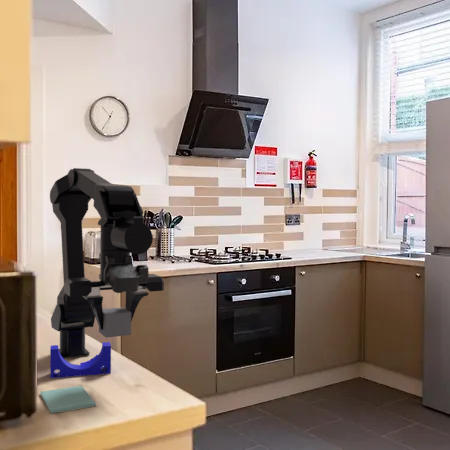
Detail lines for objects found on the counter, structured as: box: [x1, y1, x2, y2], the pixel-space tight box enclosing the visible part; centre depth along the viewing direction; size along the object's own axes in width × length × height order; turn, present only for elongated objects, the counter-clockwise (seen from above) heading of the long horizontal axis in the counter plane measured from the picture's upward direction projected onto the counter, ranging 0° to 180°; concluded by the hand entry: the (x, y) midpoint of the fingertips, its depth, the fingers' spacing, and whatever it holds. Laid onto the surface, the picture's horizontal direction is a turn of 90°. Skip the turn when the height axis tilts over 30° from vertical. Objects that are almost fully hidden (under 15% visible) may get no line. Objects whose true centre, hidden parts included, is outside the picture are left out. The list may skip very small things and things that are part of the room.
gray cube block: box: [98, 307, 132, 338], centre depth 109 cm, size 5×5×4 cm
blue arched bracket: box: [49, 341, 112, 379], centre depth 115 cm, size 12×4×6 cm, turn 107°
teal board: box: [40, 385, 97, 414], centre depth 99 cm, size 10×8×1 cm
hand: (114, 328), depth 109 cm, fingers closed on gray cube block, 5 cm apart
